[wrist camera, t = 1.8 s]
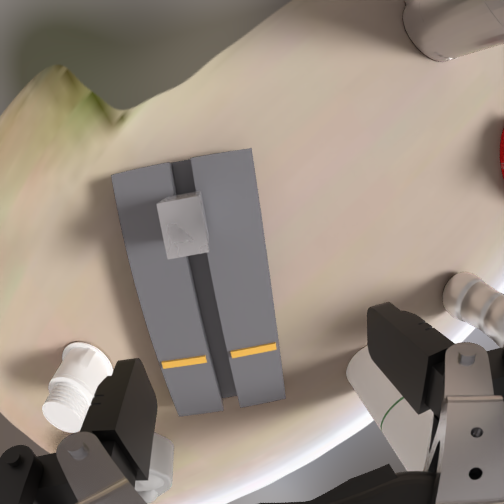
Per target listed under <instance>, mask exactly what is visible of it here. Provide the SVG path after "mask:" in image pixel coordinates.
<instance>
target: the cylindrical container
mask: <svg viewBox="0 0 504 504" xmlns="http://www.w3.org/2000/svg"><path fill="white" fill-rule="evenodd" d="M346 375H347V379H348V381H349V382H350V384H351V385H352V387H353V388H354V390H355V392H356V393H357V395H358V396H359V398H360V399H361V401H362V402H363V404H364V405H365V407H366V408H367V410H368V411H369V413H370V414H371V416H372V418H373V419H374V421H375V422H376V424H377V425H378V427H379V428H380V430H381V431H382V433H383V434H384V436H385V438H386V439H387V441H388V442H389V444H390V445H391V447H392V448H393V450H394V451H395V453H396V454H397V456H398V458H399V459H400V461H401V462H402V464H403V465H404V467H405V469H406V470H407V471H423V469H424V465H425V461H426V456H427V450H428V443H429V436H430V429H431V421H432V416H433V411H432V410H431V409H430V410H428V411H426V412H424V413H421V414H419V415H418V414H417V413H416V412H415V410H414V409H413V408H412V407H411V406H410V404H409V403H408V402H407V401H406V400H405V398H404V397H403V396H402V395H401V394H400V392H399V391H398V390H397V389H396V388H395V386H394V385H393V384H392V383H391V382H390V381H389V379H388V378H387V377H386V376H385V375H384V373H383V372H382V371H381V370H380V369H379V368H378V366H377V365H376V364H375V363H374V362H373V360H372V359H371V357H370V354H369V351H368V346H366V347H364V348H362V349H361V350H360V351H358V352H357V353H356V354H355V355H354V356H353V358H352V359H351V360H350V362H349V364H348V367H347V371H346Z"/></svg>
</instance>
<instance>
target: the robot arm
mask: <svg viewBox="0 0 504 504" xmlns="http://www.w3.org/2000/svg"><path fill="white" fill-rule="evenodd" d="M405 2H406V7H405V9H404V12H403V22H404V26H405V29H406V31H407V33H408V35H409V37H410V39H411V40H412V42H413V43H414V44H415V45H416V47H417V48H418V49H419V50H420V51H421V52H422V53H424V54H425V55H426V56H428V57H429V58H431V59H433V60H436V61H440V62H445V61H448V60H452V59H456V58H458V57H461V56H464V55H467V54H470V53H474V52H477V51H480V50H484V49H487V48H491V47H494V46H498V45H501V44H504V0H405ZM367 336H368V351H369V354H370V357H371V359H372V360H373V362H374V363H375V364H376V365H377V366H378V368H379V369H380V370H381V371H382V372H383V373H384V375H385V376H386V377H387V378H388V379H389V381H390V382H391V383H392V384H393V385H394V386H395V388H396V389H397V390H398V391H399V392H400V394H401V395H402V396H403V397H404V398H405V400H406V401H407V402H408V403H409V404H410V406H411V407H412V408H413V409H414V410H415V412H416V413H417V414H418V415H419V414H421V413H424V412H426V411H428V410H430V409H431V410H432V411H433V416H432V421H431V429H430V436H429V443H428V450H427V456H426V461H425V465H424V469H423V471H406V472H398V473H394V471H393V469H392V468H391V466H390V465H389V464H387V465H385V466H383V467H380V468H378V469H375V470H373V471H370V472H368V473H365V474H363V475H360V476H357V477H354V478H351V479H349V480H348V481H346V482H344V483H342V484H341V485H339V486H337V487H336V488H334V489H332V490H330V491H328V492H327V493H325V494H323V495H321V496H319V497H317V498H315V499H313V500H311V501H306V502H289V503H259V504H504V345H503V347H502V348H498V349H495V350H490V351H486V350H485V349H484V348H483V347H481V346H480V345H477V344H474V343H470V342H462V343H457V344H454V343H453V342H452V341H451V340H449V339H448V338H447V337H445V336H444V335H443V334H441V333H440V332H439V331H437V330H436V329H435V328H432V326H431V325H429V324H428V323H425V321H424V320H423V319H421V318H420V317H418V316H417V315H415V314H412V313H409V312H406V311H400V310H399V309H398V308H396V307H395V306H394V305H393V304H391V303H390V302H386V303H383V304H379V305H376V306H373V307H370V308H369V309H368V312H367ZM156 415H157V400H156V396H155V393H154V390H153V388H152V386H151V383H150V381H149V379H148V376H147V374H146V371H145V369H144V366H143V364H142V362H141V360H140V359H139V358H134V359H127V360H120V361H117V363H116V366H115V368H114V371H113V373H112V376H107V377H106V378H105V379H104V380H103V381H102V382H101V383H100V384H99V385H98V387H97V389H96V392H95V394H94V397H93V399H92V401H91V405H90V406H89V409H88V411H87V414H86V416H85V419H84V422H83V424H82V427H81V429H80V432H77V433H73V434H71V435H69V436H67V437H66V438H65V439H63V440H62V441H61V443H60V444H59V446H58V448H57V451H56V453H52V454H48V455H43V456H38V457H37V456H36V455H35V454H34V452H33V451H32V450H31V449H30V448H29V447H27V446H24V445H17V446H14V447H11V448H10V449H8V450H6V451H5V452H4V453H3V454H2V456H1V457H0V504H147V503H146V502H145V501H144V499H143V498H142V497H141V496H140V495H139V493H138V492H137V491H136V490H135V482H136V481H145V480H148V478H149V469H150V460H151V452H152V444H153V436H154V429H155V422H156Z"/></svg>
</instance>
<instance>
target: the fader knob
mask: <svg viewBox="0 0 504 504" xmlns="http://www.w3.org/2000/svg"><path fill="white" fill-rule="evenodd" d="M157 210H158V215H159V220H160V225H161V230H162V235H163V240H164V245H165V249H166V254H167V258H168V259H174V258H179V257H185V256H190V255H196V254H202V253H207V252H209V233H208V228H207V222H206V216H205V211H204V205H203V199H202V193H201V191H195V192H190V193H185V194H179V195H174V196H169V197H166V198H165V199H163V200H162V201H160V202H159V203H157Z"/></svg>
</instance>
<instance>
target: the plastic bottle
mask: <svg viewBox="0 0 504 504" xmlns="http://www.w3.org/2000/svg"><path fill="white" fill-rule="evenodd" d="M443 304H444V308H445V309H446V311H447V312H448V313H449V314H450V315H451V316H452V317H454V318H456V319H458V320H461V321H464V322H467V323H468V324H470V325H472V326H474V327H476V328H478V329H480V330H481V331H482V332H484V333H485V334H486V335H487V336H489V337H490V338H491V339H492V340H493V341H494V342H495V343H496V344H497V345H498V346H499V347H500V348H502V347H503V345H504V294H502V293H500V292H498V291H497V290H495V289H494V288H492V287H491V286H489V285H488V284H486V283H485V282H484V281H483V280H482V279H481V278H479V277H478V276H477V275H475V274H473V273H469V272H461V273H458V274H456V275H454V276H453V277H452V278H451V279H450V280H449V281H448V283H447V284H446V286H445V288H444V292H443Z"/></svg>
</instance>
